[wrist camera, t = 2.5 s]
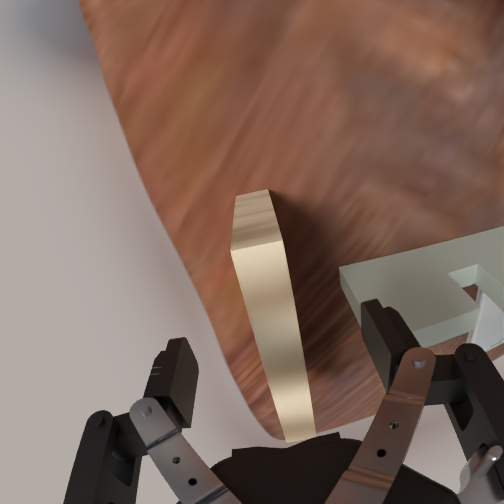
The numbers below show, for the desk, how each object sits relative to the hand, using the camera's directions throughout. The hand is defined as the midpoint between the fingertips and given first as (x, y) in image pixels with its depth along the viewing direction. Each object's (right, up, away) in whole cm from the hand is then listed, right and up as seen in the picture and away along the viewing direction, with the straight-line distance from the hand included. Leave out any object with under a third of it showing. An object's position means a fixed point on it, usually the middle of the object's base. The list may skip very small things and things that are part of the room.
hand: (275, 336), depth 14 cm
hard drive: (+30, -4, +17) cm, 35 cm away
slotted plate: (+17, +4, +13) cm, 21 cm away
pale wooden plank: (+1, 0, +14) cm, 14 cm away
